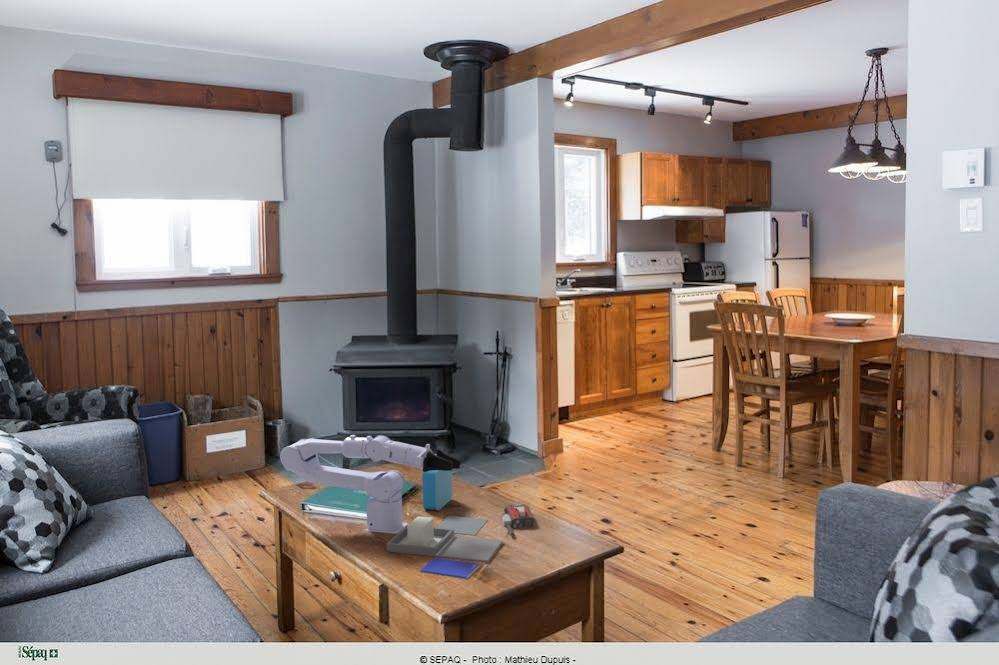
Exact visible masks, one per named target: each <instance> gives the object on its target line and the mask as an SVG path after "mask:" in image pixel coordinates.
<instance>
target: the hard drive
mask: <svg viewBox="0 0 999 665" xmlns="http://www.w3.org/2000/svg"><path fill="white" fill-rule="evenodd" d="M480 567H481V563H476V562H475V563H473V562H467V561H461V560H454V559H449V558H442V557H433V558H432V559H431V560H430V561H429V562H428V563H426V564H425V565H424V566H423V567H422V568H421V569H420V571H419V572H421V573H426V574H433V575H440V576H444V577H450V578H451V577H452V578H459V579H464V580H467V579H470V577H471V576H472V575H473V574H474V573H475V572H476V571H477V570H478V569H479V568H480Z"/></svg>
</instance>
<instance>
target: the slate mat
mask: <svg viewBox="0 0 999 665" xmlns="http://www.w3.org/2000/svg"><path fill="white" fill-rule="evenodd" d="M487 522H489V519H488V518H487V519H486V518H477V517H476V518H475V517H465V516H454V515H453V516H452V515H448V516H447V517H446V518H445V519H444V520H443V521H442V522H441V523H440V524H439V525H438V526H437V527H436V528H445V529H454V535H455V534H457V535H466V536H468V535H469V536H476V535H477V534H478V533H479V531H481V529H483V527H484V526H485V525H486V523H487Z"/></svg>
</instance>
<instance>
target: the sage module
mask: <svg viewBox="0 0 999 665" xmlns="http://www.w3.org/2000/svg"><path fill="white" fill-rule="evenodd" d="M434 525H435V524H434V517H429V516H428V517H427V516H418V515H417V517H415V518H414V519H413V520H412V521H411V522H410V523H408V526H407V532H408V545H417V546H428V545H429V544H430V543H431V542H432V541H433V540H434V528H435V527H434Z"/></svg>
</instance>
